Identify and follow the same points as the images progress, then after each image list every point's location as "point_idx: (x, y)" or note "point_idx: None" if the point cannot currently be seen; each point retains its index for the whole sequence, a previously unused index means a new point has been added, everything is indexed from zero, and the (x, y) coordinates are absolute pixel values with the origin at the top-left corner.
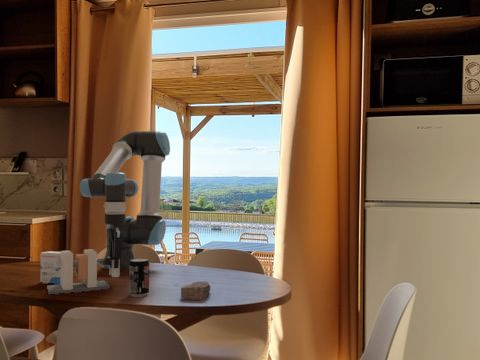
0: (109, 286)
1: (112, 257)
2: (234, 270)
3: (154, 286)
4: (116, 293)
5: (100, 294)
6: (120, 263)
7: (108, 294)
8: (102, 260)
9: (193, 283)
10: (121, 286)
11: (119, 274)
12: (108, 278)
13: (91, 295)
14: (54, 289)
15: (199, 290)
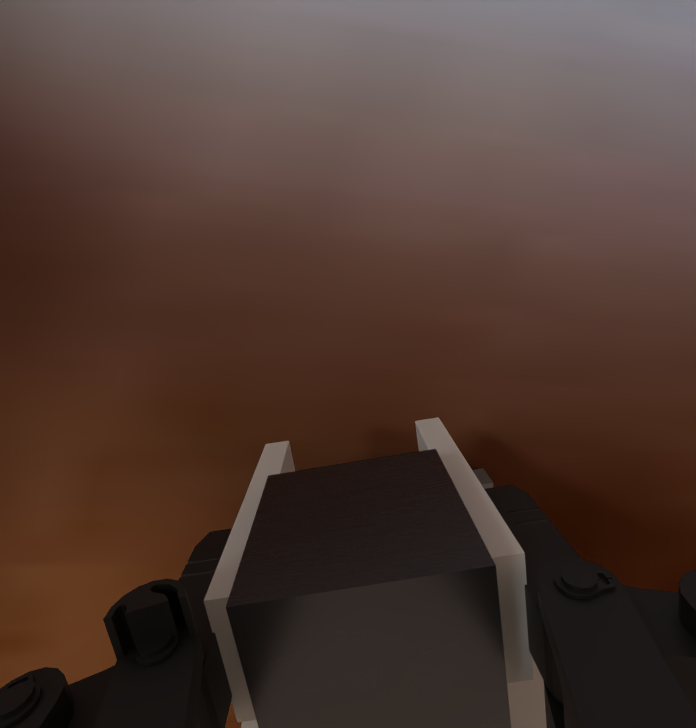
0: (488, 477)
1: (506, 713)
2: None
3: (554, 24)
4: (676, 420)
5: (649, 533)
6: (448, 481)
7: (679, 479)
8: None
9: None
10: (423, 366)
11: (442, 426)
12: (14, 464)
13: (649, 589)
14: None
15: None
